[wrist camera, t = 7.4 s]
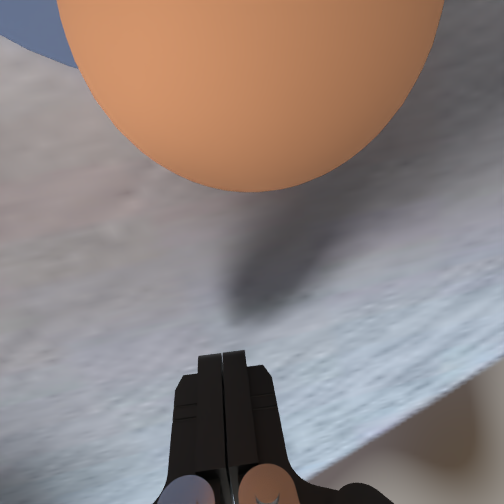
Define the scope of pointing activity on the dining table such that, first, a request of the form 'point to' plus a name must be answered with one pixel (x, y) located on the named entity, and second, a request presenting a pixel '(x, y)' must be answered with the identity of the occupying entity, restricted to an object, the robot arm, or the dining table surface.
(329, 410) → the dining table surface
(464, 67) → the dining table surface
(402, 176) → the dining table surface
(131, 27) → the ball
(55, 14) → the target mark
